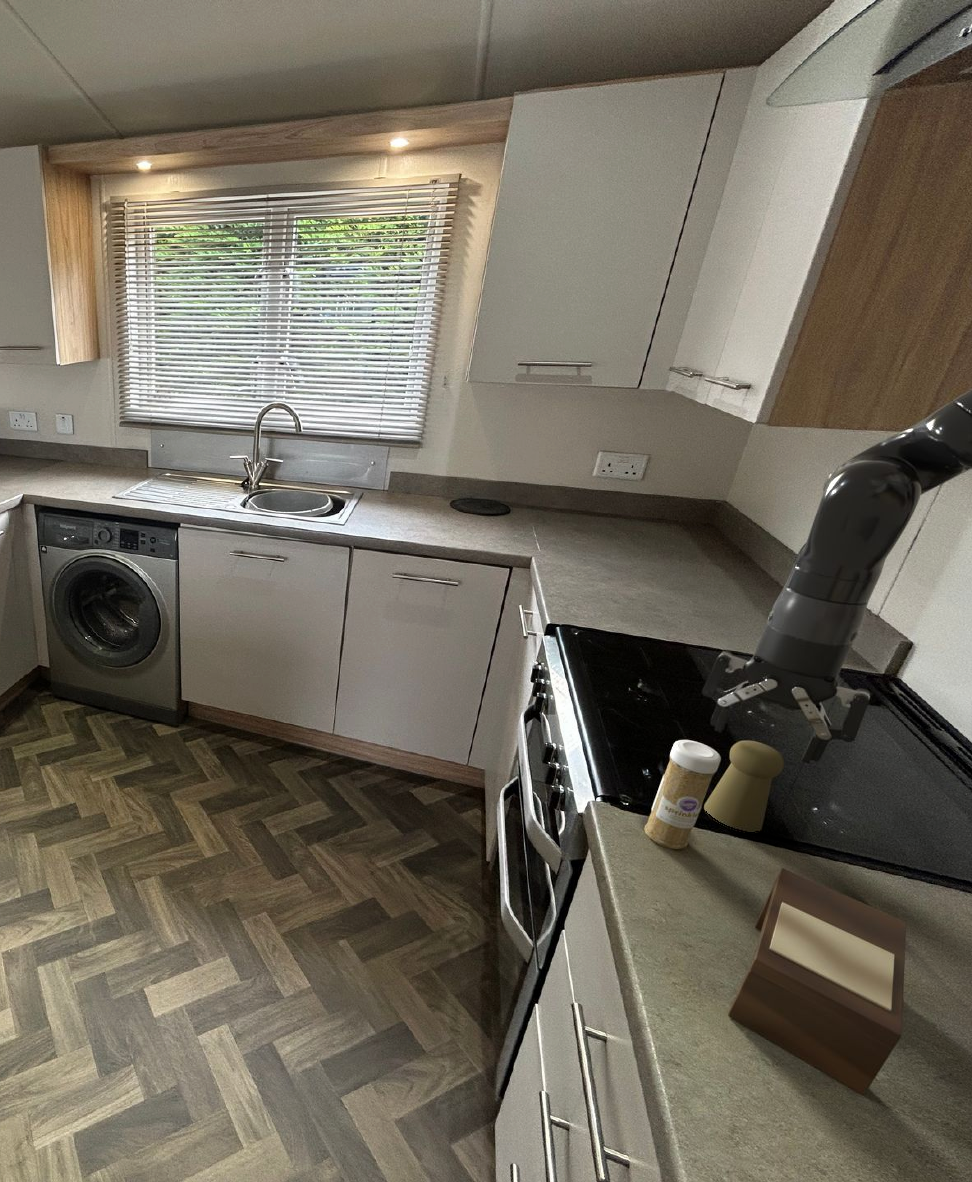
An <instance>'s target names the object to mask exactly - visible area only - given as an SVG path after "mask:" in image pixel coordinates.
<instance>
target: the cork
mask: <svg viewBox="0 0 972 1182" xmlns="http://www.w3.org/2000/svg"><path fill="white" fill-rule="evenodd" d="M729 760H730V764H729V765H728V767H727V769H726V770H725V772H724V773H723V775H722V777H721V778H720V780H719V781H718V783H717V784H716V786H715V787H714V789H713V790H712V792H711V794H710V795H709V797H708V798H707V800H706V801H705V803H704V804H703V805H704V806H703V809H704V811H705V812H706V811H707V813H708V814H710V815H711V816H712V817H713V818H715V819H716V820H718V821H719V822H721V823H723V824H725V825H727V826H730V827H733V828H735V829H739V830H743V831H747V832H755V831H759V832H760V831H761V830H763V829H762V828H763V824H764V821H765V816H766V811H767V810H766V809H767V805H768V802H769V801H768V800H769V796H770V790H771V787H772V782H773V779H774V778H776V777H777V776H778V775H779V774H781V773H782V772H783V769H784V767H785V760H784V757H783V755H782V754H781V753H780V752H779V751H777V749H775V748H774V747H772V746H769V745H768V744H764V743H762V742H759V741H754V740H740V741H737V742H736V743H734V744H733V745H732V746H731V747H730V750H729ZM707 813H706V814H707ZM708 814H707V815H708ZM755 833H756V832H755Z"/></svg>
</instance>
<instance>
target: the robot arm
mask: <svg viewBox="0 0 972 1182" xmlns="http://www.w3.org/2000/svg"><path fill="white" fill-rule="evenodd" d="M969 471H972V388H971V389H969V390H967V391H966V392H964V393H963V394H961V395H959V396H957V397H956V398H954V399H952V401H949V402H947V403H946V404H944V405H942V406H941V407H940V408H938V409H937V410H936V411H934V412H933V413H931V414H930V415H928V416H927V417H925V418H924V419H922V420H920V421H919V422H917V423H915V424H913V425H911V426H909V427H907V428H905V429H902V430H901V431H898V432H897V433H895V434H893V435H891V436H889V437H887V438H885V439H884V440H882V441H880V442H877V443H876V444H873V445H872V446H870V447H868V448H866V449H865V450H863V451H861V452H859V453H857V454H856V455H854V456H852V457H851V458H849V459H847V460H846V461H844V462H842V463H841V464H839V465H838V466H837V467H836V468H834V469H833V470H832V471H831V472H830V473H829V475H828V476H827V477H826V479H825V481H824V484H823V488H822V495H821V497H820V498H821V499H820V502H819V505H818V508H817V511H816V513H815V517H814V518H813V522H812V526H811V528H810V531H809V534H808V537H807V540H806V542H805V543H804V544H803V545H802V546H801V548H800V550H799V551H798V553H797V555H796V557H795V558H794V561H793V564H792V566H791V568H790V570H789V574H788V576H787V579H786V580H785V583H784V586H783V587H782V589H781V591H780V593H779V595H778V596H777V598H776V600H775V601H774V604H773V606H772V608H771V611H770V612H769V614H768V616H767V621H766V624H765V625H764V628H763V631H762V633H761V636H760V638H759V641H758V643H757V646H756V648H755V650H754V653H753V656H752V657H751V658H749V659H748V660H746V659H744V658H741V657H738V656H735V655H733V653H732V652H731V651H728V650H723V651H722V652H721V653H720V654H719V655H718V657H717V658H716V661H715V662H714V664H713V666H712V669H711V671H710V673H709V676H708V677H707V679H706V682H705V683H704V686H703V688H702V690H701V694H702V695H703V696H704V697H707V698H710V699H712V700H713V701H714V702H715V705H716V706H715V708H714V710H713V714H712V716H711V719H710V726H712V727H714V730H713V731H714V732H717V733H720V734H721V733H722V731H723V730H724V728H725V726H726V723H727V720H728V717H729V715H730V713H731V710H732V708H733V705H734V704H736V703H738V702H744V701H746V700H748V699H750V698H751V699H752V698H753V697H755V696H756V697H757V698H758V699H760V702H764V703H767V704H773V705H778V706H780V707H782V708H784V709H787V710H788V711H789V710H790V711H793V712H794V711H795V710H797V711H802V713H803V715H804V717H805V719H806V721H808V723H809V724H810V725H811V727H812V729H813V730H814V731H813V733H812V735H811V737H810V739H809V742H808V744H807V746H806V748H805V751H804V752H803V754H802V758H801V762H802V763H806V764H808V765H809V764H810V763H811V761H814V762H816V763H817V762H818V761H819V760H821V759H822V757H823V754H824V752H825V750H826V748H827V746H828V744H829V743H830V741H833V740H839V741H840V740H841V741H843V742H845V743H852V742H854V741H855V740H856V737H857V735H858V732H859V729H860V727H861V724H862V721H863V719H864V716H865V713H866V711H867V708H868V705H869V703H870V698H871V692H870V691H869V690H868V689H865V688H857V689H851V688H847V687H844V686H843V687H842V686H839V685H838V682H837V679H838V677H839V674H840V673H841V670H842V668H843V666H844V664H845V661H846V660H847V657H848V655H849V653H850V651H851V648H852V646H853V644H854V642H855V640H856V639H857V638H858V636H859V632H860V629H861V627H862V625H863V622H864V618H865V615H866V610H867V607H868V605H869V601H870V599H871V597H872V595H873V593H874V590H875V589H876V586H877V584H878V581H879V580H880V578H881V575H882V573H883V569H884V566H885V562H886V560H887V557H888V556H889V554H890V553H891V552H892V550H893V549H894V547H895V546H896V544H897V542H898V541H899V539H900V538H901V536H902V534H903V533H904V531H905V529H906V528H907V526H908V524H909V522H910V521H911V519H912V518H913V516H914V512H915V511H916V508H917V506H918V505H919V502H920V499H921V496H922V495H924V494H926V493H928V492H929V491H931V490H934V489H935V488H937V487H939V486H941V485H943V484H945V483H946V482H948V481H950V480H952V479H954V478H956V477H958V476H960V475H962V474H964V473H965V472H969ZM737 669H742V671H743V673H744V676H745V677H746V681H743V682H741V683H739V684H738V685H736V686H734V687H731V688H730V689H728V690H723V689H722V688H721V687H719V686H720V684H721V682H722V680H723V678H724V676H725V674H726V673H728V674H732V673H734V672H735V671H736V670H737ZM835 697H836V698H837V697H838V698H839V699H840V700H841V702H840V705H841V706H842V707H843V708H845V709H848V710H847V712H846V715H845V717H844V721H843V722H842V725H840V724H838V725H837V724H832V723H831V720H830V719H829V717H828V715H827V713H826V710H825V707H824V706H823V704H822V703H823V702H826V701H828V700H830V699H832V698H835Z"/></svg>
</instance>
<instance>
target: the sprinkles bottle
mask: <svg viewBox="0 0 972 1182" xmlns="http://www.w3.org/2000/svg"><path fill="white" fill-rule="evenodd" d="M672 745H673V746H672V747H671V750H670V754H669V762H668V764H667V766H666V769H665V771H664V774H663V775H662V778H661V781H660V784H659V787H658V790H657V791H656V792H657V793H656V795H655V798H654V800H653V803H652V806H651V812H650V814H649V818H648V820H647V823H646V824H645V825H644V832H645V835H647V837H648V838H649V839H651V841H653V842H655V843H657V844H658V845H660V846H662V847H666V848H668V849H671V850H673V849H674V850H683V849H685V848H686V847H687V846H688V844H689V838H690V836H691V833H692V830H693V829H694V827H695V825H696V822H697V820H698V817H699V814H700V812H701V810H702V807H703V803H704V800H705V798H706V795H707V792H708V790H709V786H710V784H711V781H712V778H713V776H715V773H716V772H717V771H718V769H719V766H720V763H721V760H722V758H721V755H720V753H718V751H716V749H714V748H713V747H711V746H708V745H706V744H704V743H702V742H698V741H695V740H690V739H678V740H676V741H675V742H674V743H673V744H672Z"/></svg>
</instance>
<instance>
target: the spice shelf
mask: <svg viewBox="0 0 972 1182" xmlns="http://www.w3.org/2000/svg"><path fill="white" fill-rule="evenodd" d="M754 928H755V929H756V930H758V931H760V932H759V933H760V934H759V938H758V940H757V944H756V947H755V950H754V954H753V957H752V961H751V963H750V965H749V967H748V969H747V971H746V973H745V975H744V977H743V980H742V982H741V983H740V986H739V988H738V990H737V991H736V994H735V997H734V998H733V1001H732V1003H731V1004H730V1008H729V1011H728V1015H727V1016H728V1018H730V1019H732V1020H734V1021H735V1022H737V1023H739V1024H740V1025H742V1026H744V1027H745V1028H747V1029H749V1030H750V1031H752V1032H754V1033H755V1034H757V1035H759V1036H761V1037H763V1038H764V1039H766V1040H768V1041H769V1042H770V1043H773V1044H774V1045H776V1046H778V1047H779V1048H781V1049H783V1050H785V1051H786V1052H788V1053H790V1054H791V1055H793V1056H794V1057H796V1058H798V1059H800V1060H801V1061H804V1062H805V1063H807V1064H808V1065H810V1066H812V1067H814V1068H815V1069H817V1070H818V1071H820V1072H822V1073H823V1074H826V1075H827V1076H829V1077H831V1078H832V1079H834V1080H835V1081H837V1082H839V1083H841V1084H842V1085H844V1086H846V1087H847V1088H850V1089H851V1090H853V1091H854V1092H856V1093H858V1094H860V1095H861V1096H865V1094H866V1093H867V1091H868V1090H869V1088H870V1087H871V1086H872V1083H873V1082H874V1081H875V1079H876V1078H877V1075H878V1074H879V1072H880V1071H881V1069H882V1068H883V1066H884V1065H885V1063H886V1062H887V1060H888V1059H889V1056H890V1055H891V1054H892V1052H893V1051H894V1048H896V1046H897V1045H898V1043H899V1041H900V1039H901V1038H902V1037H903V1036H902V1035H903V1016H904V1015H903V1012H904V1011H903V1010H904V991H905V990H904V989H905V988H904V986H905V965H906V964H905V963H906V962H905V961H906V938H907V937H906V936H907V935H906V934H907V922H906V921H904V920H902V919H900V918H897V917H895V916H893V915H890V914H889V913H886V912H884V911H881V910H880V909H877V908H875V907H872V906H870V905H868V904H866V903H863V902H861V901H859V900H857V899H854V898H852V897H850V896H847V895H845V894H843V893H840V892H838V891H836V890H834V889H832V888H830V887H827V886H824V885H822V884H820V883H817V882H816V881H813V880H811V879H808V878H806V877H804V876H802V875H800V874H798V873H795V872H793V871H790V870H788V869H786V868H784V867H781V868H780V870H779V872H778V873H777V876H776V879H775V880H774V882H773V885H772V887H771V889H770V891H769V894H768V896H767V897H766V900H765V901H764V904H763V905H762V908H761V910H760V913H759V914H758V916H757V919H756V922H755V925H754Z"/></svg>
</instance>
